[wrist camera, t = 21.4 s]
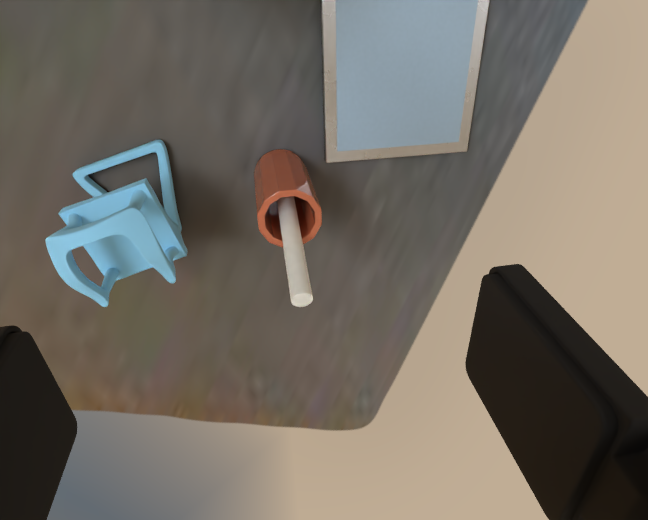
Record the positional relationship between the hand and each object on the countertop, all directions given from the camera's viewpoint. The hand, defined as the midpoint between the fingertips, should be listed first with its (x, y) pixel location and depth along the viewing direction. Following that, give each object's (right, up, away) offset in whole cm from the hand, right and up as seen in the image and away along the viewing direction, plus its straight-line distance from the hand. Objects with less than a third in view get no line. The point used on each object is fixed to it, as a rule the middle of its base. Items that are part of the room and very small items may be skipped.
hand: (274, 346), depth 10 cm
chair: (-15, +7, +29) cm, 34 cm away
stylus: (-3, +10, +29) cm, 31 cm away
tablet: (+7, +20, +25) cm, 33 cm away
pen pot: (-3, +9, +30) cm, 32 cm away
